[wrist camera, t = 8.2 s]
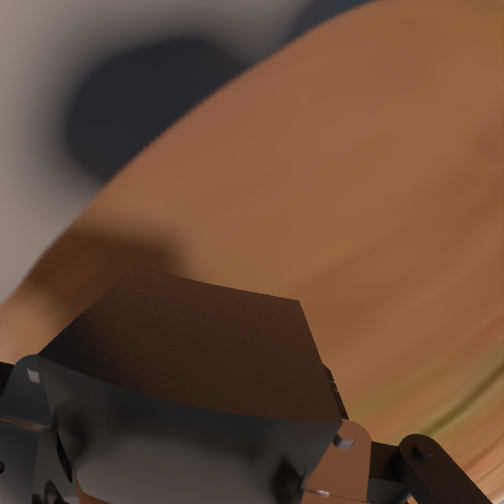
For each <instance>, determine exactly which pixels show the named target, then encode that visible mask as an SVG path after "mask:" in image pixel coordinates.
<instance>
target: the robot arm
mask: <svg viewBox="0 0 504 504" xmlns="http://www.w3.org/2000/svg"><path fill="white" fill-rule="evenodd" d="M322 364H323V363H322ZM323 367H324V370H325V372H326V375H327V378H328V381H329V383H330V386H331V389H332V392H333V395H334V398H335V400H336V403H337V406H338V409H339V412H340V415H341V418H342V421H343V423H342V425H341V427H340V429H339V431H338V432H337V434H336V436H335V437H334V439H333V441H332V442H331V444H330V446H329V447H328V449H327V451H326V452H325V454H324V456H323V457H322V459H321V460H320V462H319V463H318V465H308V466H307V468H306V469H305V471H304V472H303V474H302V476H301V477H300V480H299V483H298V486H297V488H296V491H295V494H294V496H293V499H292V501H291V503H290V504H409V503H408V502H407V500H408V499H409V498H410V497H411V496H413V497H414V499H415V500H416V502H417V503H418V504H492V502H491V501H490V500H489V499H488V498H487V497H486V496H485V495H484V494H483V492H482V491H481V490H480V489H479V488H478V487H477V486H476V485H475V484H474V483H473V481H472V480H471V479H470V478H469V477H468V476H467V475H466V474H465V473H464V471H463V470H462V469H461V468H460V467H459V466H458V465H457V464H456V463H455V462H454V460H453V459H452V458H451V457H450V456H449V455H448V454H447V453H446V452H445V451H444V449H443V448H442V447H441V446H440V445H439V444H438V443H437V442H436V441H435V440H433V439H431V438H430V437H427V436H425V435H420V434H412V435H408V436H406V437H405V438H404V439H403V440H402V441H401V442H400V444H399V445H398V446H393V445H387V444H382V443H377V442H373V441H371V438H370V435H369V434H368V432H367V431H366V430H365V429H364V428H363V427H362V426H361V425H359V424H357V423H355V422H353V421H350V420H349V418H348V415H347V413H346V410H345V407H344V405H343V402H342V400H341V397H340V394H339V392H337V390H338V389H337V387H336V384H335V383H334V379H333V376H332V374H331V371H330V370H329V369H328V368H327V367H326V366H325V365H324V364H323ZM58 425H59V422H58V419H57V415H56V412H55V408H53V407H51V406H49V403H48V399H47V396H46V392H45V388H44V384H43V380H42V376H41V372H40V367H39V363H38V358H37V354H31V355H27V356H24V357H22V358H21V359H19V360H18V361H17V362H16V364H15V365H13V364H8V363H4V362H0V504H80V502H79V499H78V494H77V471H76V469H75V466H74V464H73V462H71V461H69V460H68V458H67V455H66V453H65V450H64V448H63V445H62V442H61V440H60V437H59V434H58Z"/></svg>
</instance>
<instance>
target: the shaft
mask: <svg viewBox="0 0 504 504" xmlns="http://www.w3.org/2000/svg"><path fill="white" fill-rule="evenodd" d="M37 358H38V363H39V367H40V372H41V376H42V380H43V384H44V388H45V392H46V396H47V399H48V403H49V406H51V407H53V408H55V412H56V415H57V419H58V422H59V425H58V434H59V437H60V440H61V442H62V445H63V448H64V450H65V453H66V455H67V458H68V460H69V461H71V462H73V464H74V466H75V469H76V471H77V481H78V483H79V485H80V487H81V489H82V491H83V493H85V494H87V495H90V496H92V497H95V498H97V499H100V500H103V501H105V502H108V503H111V504H290V503H291V501H292V499H293V496H294V494H295V491H296V488H297V486H298V483H299V480H300V477H301V476H302V474H303V472H304V471H305V469H306V468H307V466H308V465H318V463H319V462H320V460H321V459H322V457H323V456H324V454H325V452H326V451H327V449H328V447H329V446H330V444H331V442H332V441H333V439H334V437H335V436H336V434H337V432H338V431H339V429H340V427H341V425H342V423H343V421H342V418H341V415H340V412H339V409H338V406H337V403H336V400H335V398H334V395H333V392H332V389H331V386H330V383H329V381H328V378H327V375H326V372H325V370H324V367H323V364H322V361H321V358H320V356H319V353H318V350H317V348H316V345H315V342H314V339H313V337H312V334H311V331H310V329H309V326H308V323H307V321H306V318H305V315H304V313H303V310H302V307H301V305H300V302H299V301H298V300H293V299H287V298H281V297H276V296H270V295H265V294H259V293H254V292H249V291H244V290H238V289H233V288H228V287H223V286H218V285H213V284H208V283H203V282H198V281H194V280H189V279H184V278H179V277H175V276H170V275H166V274H161V273H157V272H152V271H148V270H143V269H139V268H134V269H133V270H132V271H130V272H129V273H128V274H127V275H126V276H124V277H123V278H122V279H121V280H120V281H118V282H117V283H116V284H115V285H114V286H113V287H111V288H110V289H109V290H108V291H107V292H106V293H104V294H103V295H102V296H101V297H100V298H99V299H97V300H96V301H95V302H94V303H93V304H92V305H91V306H89V307H88V308H87V309H86V310H85V311H84V312H83V313H81V314H80V315H79V316H78V317H77V318H76V319H75V320H74V321H73V322H71V323H70V324H69V325H68V326H67V327H66V328H65V329H64V330H63V331H62V332H60V333H59V334H58V335H57V336H56V337H55V338H54V339H53V340H52V341H51V342H50V343H49V344H48V345H47V346H45V347H44V348H43V349H42V350H41V351H40V352H39V353H38V354H37Z"/></svg>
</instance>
